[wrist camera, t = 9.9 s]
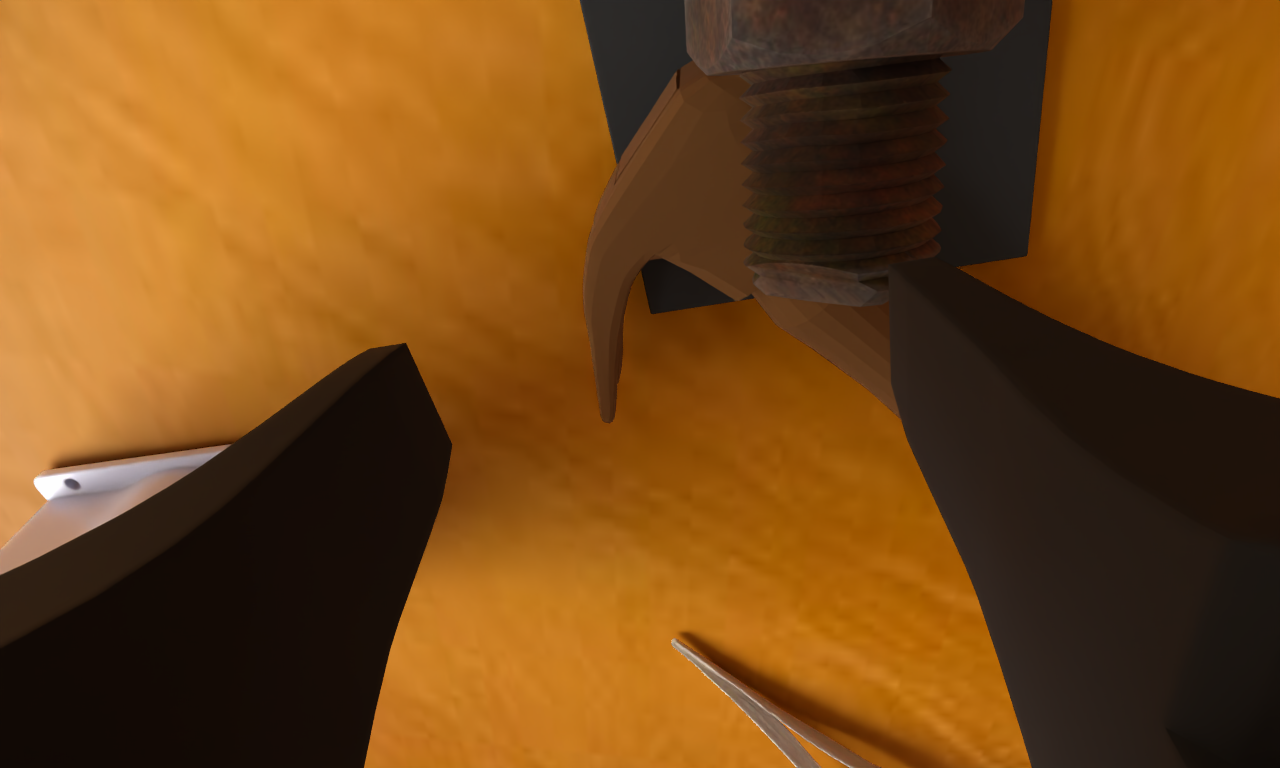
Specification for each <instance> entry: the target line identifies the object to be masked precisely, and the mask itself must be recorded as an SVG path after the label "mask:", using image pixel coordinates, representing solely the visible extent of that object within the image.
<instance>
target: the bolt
mask: <svg viewBox="0 0 1280 768" xmlns="http://www.w3.org/2000/svg"><path fill="white" fill-rule="evenodd" d="M684 4H685V25H686V45H687V53H688V54H689V56H690V57H691V58H692V60H693V61H694V62H695V64H696V65H697V66H698V67H699V68H700V69H701V70H702V71H703V72H704V73H705V74H706V75H707V76H724V75H740V76H739V77H741V78H742V79H743V80H745V81H746V82H748V83H749V84H750V85H751V86H750V87H749V88H748V89H747V91H746V92H745V93H744V94H743V95H742V96H741V97H740V98H739V99H741V100H742V101H744V102H745V103H746V104H748V105H749V106H751V107H752V108H751V109H750V110H749V111H748V112H747V113H746V114H745V115H744V116H743V117H742V119H741V120H740V121H741V122H743V123H744V124H746V125H747V126H749V127H750V128H752V130H751V131H750V132H749V133H748V134H747V136H746V137H745V138H744V139H743V140H742V141H741V142H740V143H742V144H743V145H745V146H746V147H748V148H749V149H751V150H752V152H751V153H750V154H749V155H748V156H747V158H746V159H745V160H744V161H743V162H742V163H741V164H742V165H743V166H745V167H746V168H748V169H749V170H751V171H753V172H752V173H751V175H750V176H749V177H748V178H747V179H746V180H745V181H744V183H743V184H742V186H744V187H745V188H747V189H749V190H750V191H752V192H753V193H752V195H751V196H750V197H749V198H748V199H747V200H746V202H745V203H744V204H743V205H742V206H743V207H745V208H747V209H748V210H750V211H751V212H753V214H752V215H751V216H750V217H749V218H748V219H747V220H746V221H745V222H744V223H743V224H744V227H745V228H746V229H748V230H750V231H751V232H753V234H751V235H750V236H749V237H748V238H746V240H745V242H744V247H745V248H747V249H749V250H750V251H752V252H753V253H752V254H750V255H749V256H748V257H746V259H745V260H744V262H743V263H744V265H745V266H746V267H748V268H749V269H751V270H752V271H754V272H755V273H754V276H753V278H752V281H753V284H754V285H755V286H756V287H757V288H758V289H759V290H761V291H762V292H763V293H764V294H765V295H769V296H776V297H783V298H790V299H798V300H805V301H813V302H822V303H830V304H839V305H848V306H857V307H864V306H873V305H882V304H884V303H886V302H888V301H889V278H888V264H893V263H899V262H905V261H911V260H918V259H924V258H930V257H934V256H936V255H937V254H938V253H939V252H940V249H941V247H940V245H939V243H937V242H936V241H935V240H934V239H932V238H933V237H935V236H936V235H937V234H938V233H939V232H941V231H942V230H941V228H940V226H939V225H938V223H937V222H936V221H935V220H934V219H933V218H932V217H934V216H935V215H937V214H939V213H940V212H941V209H942V207H943V205H942V204H941V203H939V202H938V201H937V200H936V199H935V198H934V197H933V196H932V195H934V194H935V193H937V192H938V191H940V190H941V189H943V188H944V185H943V184H942V183H941V181H940V180H939V179H938V178H937V177H936V176H935V175H934V173H936V172H937V171H938V170H940V169H941V168H943V167H944V166H945V165H946V164H945V163H944V162H943V160H942V159H941V158H940V157H939V156H938V155H937V154H936V153H935V151H936V150H938V149H939V148H940V147H942V146H943V145H944V144H945V143H946V142H947V139H946V138H945V137H944V136H943V135H942V134H941V133H940V132H939V131H938V130H936V128H937V127H939V126H940V125H941V124H943V123H944V122H945V121H947V120H948V119H950V118H949V117H948V116H947V115H946V114H945V113H944V112H943V111H942V110H941V109H940V108H939V107H938V106H937V104H939V103H940V102H941V101H943V100H944V99H945V98H946V97H948V96H949V95H950V94H951V93H949V92H948V91H947V90H946V89H945V88H944V87H943V86H942V85H941V84H940V83H939V82H938V81H939V80H940V79H941V78H942V77H944V76H945V75H946V74H947V73H949V72H950V71H951V70H952V69H951V68H950V67H949V66H948V65H946V64H945V63H944V62H943V61H942V60H941V59H940V57H947V56H956V55H964V54H972V53H980V52H986V51H991V50H992V49H993V48H994V47H995V46H996V45H997V44H998V43H999V42H1000V41H1001V40H1002V39H1003V38H1004V37H1005V36H1006V35H1007V34H1008V33H1009V32H1010V31H1011V30H1012V29H1013V27H1014V26H1015V25H1016V24H1017V23H1018V22H1019V21H1020V20H1021V19H1022V18H1023V15H1024V4H1025V0H684Z"/></svg>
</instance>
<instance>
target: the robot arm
mask: <svg viewBox="0 0 1280 768" xmlns="http://www.w3.org/2000/svg"><path fill="white" fill-rule="evenodd" d="M888 278H889V322H890V366H891V386H892V389H893V393H894V396H895V400H896V403H897V407H898V410H899V414H900V417H901V420H902V424H903V427H904V430H905V433H906V437H907V440H908V442H909V445H910V447H911V449H912V451H913V454H914V456H915V458H916V460H917V462H918V465H919V467H920V469H921V471H922V473H923V476H924V478H925V480H926V482H927V484H928V487H929V489H930V491H931V493H932V495H933V497H934V500H935V502H936V504H937V506H938V508H939V510H940V513H941V515H942V517H943V519H944V521H945V523H946V525H947V528H948V530H949V532H950V534H951V536H952V538H953V541H954V543H955V545H956V547H957V549H958V551H959V554H960V556H961V558H962V560H963V562H964V564H965V567H966V569H967V572H968V574H969V577H970V579H971V582H972V584H973V586H974V589H975V591H976V594H977V597H978V600H979V603H980V606H981V609H982V612H983V615H984V618H985V621H986V624H987V627H988V630H989V633H990V636H991V639H992V642H993V645H994V648H995V651H996V654H997V657H998V660H999V663H1000V666H1001V669H1002V672H1003V675H1004V679H1005V682H1006V685H1007V688H1008V691H1009V695H1010V698H1011V701H1012V704H1013V707H1014V710H1015V714H1016V717H1017V720H1018V723H1019V726H1020V729H1021V733H1022V736H1023V739H1024V743H1025V746H1026V749H1027V753H1028V756H1029V759H1030V763H1031V766H1032V768H1280V399H1279V398H1275V397H1272V396H1268V395H1264V394H1260V393H1257V392H1253V391H1249V390H1245V389H1242V388H1238V387H1234V386H1231V385H1227V384H1224V383H1220V382H1217V381H1214V380H1210V379H1207V378H1204V377H1200V376H1197V375H1194V374H1191V373H1188V372H1185V371H1182V370H1179V369H1176V368H1174V367H1171V366H1168V365H1165V364H1162V363H1159V362H1156V361H1154V360H1151V359H1148V358H1145V357H1142V356H1139V355H1136V354H1134V353H1131V352H1128V351H1126V350H1123V349H1121V348H1118V347H1116V346H1113V345H1111V344H1108V343H1106V342H1104V341H1101V340H1099V339H1097V338H1094V337H1092V336H1090V335H1088V334H1085V333H1083V332H1081V331H1079V330H1076V329H1074V328H1072V327H1070V326H1067V325H1065V324H1063V323H1061V322H1059V321H1057V320H1055V319H1052V318H1050V317H1048V316H1046V315H1044V314H1042V313H1040V312H1038V311H1036V310H1034V309H1032V308H1030V307H1028V306H1026V305H1024V304H1022V303H1020V302H1019V301H1017V300H1015V299H1013V298H1011V297H1009V296H1007V295H1005V294H1003V293H1002V292H1000V291H998V290H996V289H994V288H992V287H991V286H989V285H987V284H985V283H983V282H981V281H980V280H978V279H976V278H974V277H972V276H971V275H969V274H967V273H965V272H963V271H961V270H960V269H958V268H956V267H954V266H952V265H950V264H948V263H946V262H944V261H942V260H940V259H938V258H936V257H930V258H924V259H918V260H911V261H905V262H899V263H893V264H888ZM451 450H452V442H451V440H450V438H449V436H448V434H447V432H446V429H445V427H444V425H443V423H442V421H441V418H440V416H439V414H438V412H437V410H436V407H435V405H434V403H433V401H432V399H431V396H430V394H429V392H428V390H427V388H426V386H425V383H424V381H423V379H422V377H421V375H420V372H419V370H418V368H417V366H416V364H415V361H414V359H413V357H412V355H411V353H410V350H409V348H408V346H407V344H406V343H402V344H396V345H390V346H384V347H378V348H371V349H368V350H367V351H365V352H363V353H361V354H359V355H357V356H356V357H354V358H352V359H351V360H349V361H348V362H346V363H345V364H343V365H342V366H340V367H339V368H337V369H336V370H334V371H333V372H332V373H330V374H329V375H327V376H326V377H325V378H323V379H322V380H320V381H319V382H318V383H316V384H315V385H314V386H312V387H311V388H309V389H308V390H307V391H305V392H304V393H303V394H301V395H300V396H299V397H297V398H296V399H295V400H293V401H292V402H290V403H289V404H288V405H286V406H285V407H284V408H282V409H281V410H280V411H278V412H277V413H276V414H274V415H273V416H271V417H270V418H269V419H267V420H266V421H265V422H263V423H262V424H261V425H259V426H258V427H256V428H255V429H253V430H252V431H250V432H249V433H248V434H246V435H245V436H243V437H242V438H240V439H239V440H238V441H236V442H235V443H233V444H229V445H222V446H215V447H207V448H200V449H193V450H186V451H179V452H172V453H164V454H157V455H150V456H143V457H136V458H128V459H121V460H114V461H107V462H100V463H93V464H85V465H78V466H71V467H64V468H57V469H50V470H44V471H42V472H41V473H40V474H39V475H38V476H37V477H36V478H35V479H34V485H35V486H36V488H37V489H38V490H39V492H40V493H41V494H42V495H43V496H44V497H45V498H46V499H47V500H48V501H47V502H46V503H45V504H44V505H43V506H42V507H41V508H40V509H39V510H38V511H37V512H36V513H35V514H34V515H33V516H32V517H31V518H30V519H29V520H28V521H27V523H26V524H25V525H24V526H23V527H22V528H21V529H20V530H19V531H18V532H17V533H16V534H15V535H14V536H13V537H12V538H11V539H10V540H9V541H8V542H7V543H6V544H5V545H4V546H3V547H2V548H1V549H0V768H364V765H365V760H366V755H367V750H368V745H369V740H370V735H371V730H372V725H373V720H374V715H375V711H376V706H377V702H378V698H379V694H380V690H381V685H382V681H383V677H384V673H385V669H386V664H387V660H388V656H389V652H390V648H391V645H392V642H393V639H394V636H395V632H396V629H397V626H398V623H399V620H400V617H401V614H402V611H403V609H404V606H405V603H406V600H407V598H408V595H409V592H410V589H411V587H412V584H413V581H414V578H415V575H416V573H417V570H418V567H419V564H420V562H421V559H422V556H423V553H424V551H425V548H426V545H427V542H428V539H429V537H430V534H431V531H432V528H433V525H434V522H435V519H436V516H437V514H438V511H439V508H440V504H441V501H442V498H443V493H444V488H445V484H446V479H447V474H448V468H449V462H450V456H451Z"/></svg>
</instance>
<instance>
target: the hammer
mask: <svg viewBox="0 0 1280 768" xmlns="http://www.w3.org/2000/svg"><path fill="white" fill-rule="evenodd" d="M739 76H740V75H724V76H707V75H706V74H705V73H704V72H703V71H702V70H701V69H700V68H699V67H698V66H697V65H696V64H695V62H694V61H691V62H689V63H688V64H686V65H684V66H683V67H681V68H680V70H679V69H677V71H676V72H675V74H674V75H673V77H672V79H671V80H670V82H669V83H668V85H667V86H666V88H665V89H664V91H663V92H662V94H661V96H660V97H659V99H658V100H657V102H656V103H655V105H654V107H653V108H652V110H651V112H650V113H649V115H648V116H647V118H646V119H645V120H644V122H643V123H642V125H641V126H640V128H639V130H638V131H637V133H636V134H635V136H634V137H633V139H632V140H631V142H630V144H629V145H628V147H627V148H626V150H625V151H624V153H623V154H622V156H621V159H620V161H619V163H618V164H617V166H616V168H615V170H614V172H613V174H612V176H611V178H610V180H609V182H608V184H607V186H606V188H605V190H604V193H603V195H602V197H601V199H600V201H599V204H598V207H597V210H596V213H595V217H594V223H593V226H592V229H591V232H590V235H589V239H588V244H587V251H586V258H585V267H584V277H583V304H584V314H585V319H586V325H587V330H588V335H589V341H590V347H591V355H592V362H593V369H594V376H595V382H596V389H597V396H598V402H599V408H600V415H601V418H602V420H603V421H604V422H606V423H611V422H612V421H613V420H614V417H615V411H616V399H617V384H618V382H619V379H620V374H621V368H622V357H623V323H624V314H625V309H626V305H627V300H628V296H629V293H630V290H631V286H632V284H633V281H634V280H635V278H636V276H637V275H638V273H639V272H640V270H641V269H642V268H643V267H644V265H645V264H646V263H647V262H648V261H649V260H654V259H660V258H664V259H665V260H667V261H669V262H671V263H673V264H675V265H677V266H679V267H681V268H683V269H685V270H687V271H689V272H691V273H692V274H694V275H695V276H697V277H699V278H700V279H702V280H704V281H705V282H707V283H708V284H710V285H712V286H713V287H715V288H716V289H718V290H720V291H721V292H723V293H724V294H726V295H728V296H729V297H731V298H732V299H734V300H736V301H739V300H741V299H743V298H745V297H747V296H749V295H750V294H752V295H753V296H754V297H755V299H756V300H757V301H758V303H759V304H760V305H761V307H762V308H763V309H764V310H765V312H766V313H767V314H768V315H769V317H770V318H771V319H772V321H773V322H774V323H775V324H776V325H777V326H778V327H780V328H782V329H783V330H785V331H786V332H788V333H789V334H791V335H792V336H794V337H795V338H797V339H798V340H800V341H802V342H803V343H805V344H806V345H808V346H809V347H811V348H812V349H813V350H815V351H816V352H818V353H819V354H820V355H822V356H823V357H824V358H826V359H827V360H828V361H830V362H831V363H833V364H834V365H835V366H837V367H838V368H839V369H841V370H842V371H844V372H845V373H846V374H848V375H849V376H850V377H852V378H853V379H854V380H856V381H857V382H859V383H860V384H861V385H863V386H864V387H865V388H867V389H868V390H869V391H870V392H871V393H872V394H874V395H875V396H876V397H877V398H878V399H879V400H880V401H881V402H882V403H883V404H885V405H886V406H887V407H888V408H889V409H890V410H891V411H892V412H893V413H895V414H896V415H897V416H898V417H899V418H900V419H901V417H900V414H899V410H898V407H897V403H896V400H895V396H894V393H893V389H892V386H891V366H890V322H889V301H888V302H886V303H884V304H882V305H873V306H864V307H857V306H848V305H839V304H830V303H822V302H813V301H805V300H798V299H790V298H783V297H776V296H769V295H765V294H764V293H763V292H762V291H761V290H759V289H758V288H757V287H756V286H755V285H754V284H753V281H752V278H753V276H754V273H755V272H754V271H752V270H751V269H749V268H748V267H746V266H745V265H744V263H743V262H744V260H745V259H746V257H748V256H749V255H750V254H752V253H753V252H752V251H750V250H749V249H747V248H745V247H744V242H745V240H746V238H748V237H749V236H750V235H751V234H753V232H751V231H750V230H748V229H746V228H745V227H744V224H743V223H744V222H745V221H746V220H747V219H748V218H749V217H750V216H751V215H752V214H753V212H751V211H750V210H748V209H747V208H745V207H743V206H742V205H743V204H744V203H745V202H746V200H747V199H748V198H749V197H750V196H751V195H752V193H753V192H752V191H750V190H749V189H747V188H745V187H744V186H742V184H743V183H744V181H745V180H746V179H747V178H748V177H749V176H750V175H751V173H752V172H753V171H751V170H749V169H748V168H746V167H745V166H743V165H742V164H741V163H742V162H743V161H744V160H745V159H746V158H747V156H748V155H749V154H750V153H751V152H752V150H751V149H749V148H748V147H746V146H745V145H743V144H742V143H740V142H741V141H742V140H743V139H744V138H745V137H746V136H747V134H748V133H749V132H750V131H751V130H752V128H750V127H749V126H747V125H746V124H744V123H743V122H741V121H740V120H741V119H742V117H743V116H744V115H745V114H746V113H747V112H748V111H749V110H750V109H751V108H752V107H751V106H749V105H748V104H746V103H745V102H744V101H742V100H741V99H739V98H740V97H741V96H742V95H743V94H744V93H745V92H746V91H747V89H748V88H749V87H750V86H751V85H750V84H749V83H748V82H746V81H745V80H743V79H742V78H741V77H739Z"/></svg>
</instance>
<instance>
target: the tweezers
mask: <svg viewBox="0 0 1280 768" xmlns="http://www.w3.org/2000/svg"><path fill="white" fill-rule="evenodd" d="M671 644H672V646H673V647H674V648H675V649H677V650H678V651H679V652H681V653H682V654H683V655H684V656H685V657H686V658H687V659H689V660H690V661H691V662H692V663H693V664H694V665H695V666H696V667H697V668H699V669H700V670H701V671H702V672H703V673H704V674H705V675H706V676H707V677H708V678H709V679H710V680H711V681H712V682H714V683H715V684H716V685H717V686H718V687H719V688H720V689H721V690H722V691H723V692H725V693H726V694H727V695H728V696H729V697H730V698H731V699H732V700H733V701H734V702H735V703H736V704H737V705H738V706H739V707H740V708H741V709H742V710H743V711H744V712H745V713H746V714H747V715H748V716H749V717H750V718H751V719H752V720H753V722H754V723H755V724H756V725H757V726H758V727H759V728H760V729H761V731H763V732H764V733H765V734H766V735H767V736H768V737H769V739H770V740H771V741H772V742H773V743H774V744H775V745H776V746H777V747H778V748H779V749H780V750H781V751H782V752H783V753H784V754H785V755H786V756H787V758H788V759H789V760H790V761H791V762H792V763H793V764H794V765H795V767H796V768H821V767H820V765H819V764H818V763H817V762H816V761H815V760H814V759H813V758H812V757H811V755H810V754H809V753H808V752H807V751H806V750H805V749H804V748H803V746H802V745H801V744H800V743H799V742H798V741H797V739H796V738H795V737H794V736H793V735H792V734H791V733H790V731H789V730H788V729H787V728H786V727H785V726H784V725H783V724H782V723H784V724H785V725H786V726H788V727H789V728H790V729H792V730H793V731H795V732H796V733H797V734H799V735H800V736H801V737H803V738H804V739H805V740H807V741H808V742H810V743H812V744H813V745H815V746H816V747H817V748H819V749H820V750H822V751H824V752H825V753H826V754H828V755H829V756H831V757H833V758H834V759H836V760H838V761H840V762H841V763H843V764H845V765H846V766H848V767H849V768H881V767H879V766H876V765H874V764H872V763H870V762H868V761H867V760H865V759H863V758H862V757H860V756H859V755H857V754H855V753H854V752H852V751H850V750H849V749H847V748H845V747H844V746H842V745H840V744H839V743H837V742H836V741H834V740H832V739H830V738H829V737H827V736H826V735H824V734H822V733H820V732H819V731H817V730H815V729H814V728H812V727H810V726H809V725H807V724H805V723H803V722H802V721H800V720H798V719H797V718H795V717H793V716H792V715H790V714H788V713H787V712H785V711H783V710H782V709H780V708H779V707H777V706H775V705H774V704H772V703H771V702H769V701H768V700H766V699H765V698H763V697H762V696H760V695H759V694H757V693H756V692H754V691H753V690H751V689H750V688H749V687H747V686H746V685H744V684H743V683H742V682H740V681H739V680H737V679H736V678H734V677H733V676H731V675H730V674H729V673H727V672H726V671H724V670H723V669H722V668H720V667H718V666H717V665H715V664H714V663H712V662H711V661H709V660H708V659H706V658H705V657H703V656H702V655H700V654H699V653H697V652H696V651H694V650H693V649H691V648H690V647H688V646H686V645H685V644H683V643H682V642H680V641H679V640H677V639H676V638H674V639H673V640H672V643H671ZM779 720H780V721H781V722H782V723H781V722H780V721H779Z"/></svg>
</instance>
